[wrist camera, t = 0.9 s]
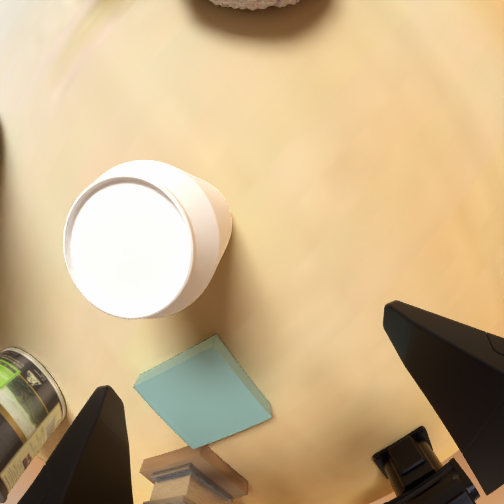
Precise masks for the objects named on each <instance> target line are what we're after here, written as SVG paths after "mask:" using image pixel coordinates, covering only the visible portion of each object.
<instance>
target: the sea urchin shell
mask: <svg viewBox="0 0 504 504" xmlns="http://www.w3.org/2000/svg"><path fill="white" fill-rule="evenodd" d="M210 1H212V3H213V4H214V5H221V6H222V7H225V6H226V7H232V8H234V9H237V8H240V9H245V8H247V9H250V10H252V11H253V10H255V9H257V8H259V9H266V8H267V7H268V6H273V5H274V6H277V7H279V8H281V7H282V6H284V7H285V6H286V5H287V4H292V5H295V4H296V3H297V2H299V1H300V0H210Z"/></svg>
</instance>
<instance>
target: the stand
mask: <svg viewBox="0 0 504 504" xmlns="http://www.w3.org/2000/svg"><path fill="white" fill-rule="evenodd" d="M133 387H134V389H135V390H136V391H137V392H138V393H139V394H140V396H141V397H142V398H143V399H144V400H145V401H146V402H147V403H148V404H149V406H150V407H151V408H152V409H153V410H154V411H155V412H156V413H157V414H158V415H159V416H160V417H161V418H162V419H163V420H164V421H165V422H166V424H167V425H168V426H169V427H170V428H171V429H172V430H173V431H174V432H175V433H176V434H177V435H179V436H180V437H181V438H182V439H183V440H184V441H185V442H186V443H187V444H188V445H189V446H190V447H191V448H192V449H195V448H198V447H201V446H204V445H206V444H209V443H212V442H215V441H217V440H220V439H223V438H225V437H228V436H230V435H233V434H235V433H238V432H240V431H243V430H245V429H247V428H250V427H252V426H254V425H257V424H259V423H261V422H263V421H266V420H268V419H270V418H272V416H271V407H270V403H269V401H268V400H267V399H266V398H265V396H264V395H263V394H262V393H261V391H260V390H259V389H258V388H257V386H256V385H255V384H254V383H253V381H252V380H251V379H250V378H249V376H248V375H247V374H246V373H245V371H244V370H243V369H242V367H241V366H240V365H239V363H238V362H237V361H236V360H235V358H234V357H233V356H232V354H231V353H230V352H229V350H228V349H227V348H226V346H225V345H224V344H223V342H222V341H221V340H220V338H219V337H218V335H217V334H215V335H214V336H212V337H210V338H208V339H206V340H205V341H203V342H201V343H199V344H197V345H196V346H194V347H192V348H190V349H188V350H186V351H184V352H183V353H181V354H179V355H177V356H175V357H173V358H171V359H169V360H167V361H166V362H164V363H162V364H160V365H158V366H156V367H154V368H152V369H150V370H148V371H146V372H144V373H142V374H140V376H139V378H138V379H137V381H136V383H135V384H134V386H133Z"/></svg>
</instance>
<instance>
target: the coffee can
mask: <svg viewBox="0 0 504 504" xmlns="http://www.w3.org/2000/svg"><path fill="white" fill-rule="evenodd" d="M65 414H66V406H65V402H64V398H63V396H62V394H61V391H60V389H59V388H58V386H57V384H56V382H55V381H54V379H53V378H52V376H51V375H50V374H49V373H48V371H47V370H46V369H45V368H44V367H43V366H42V365H41V364H40V363H39V362H38V361H37V360H36V359H35V358H34V357H32V356H31V355H30V354H28V353H26V352H25V351H23V350H21V349H18V348H12V347H9V348H6V349H4V350H3V351H2V352H1V353H0V503H4V502H5V501H6V499H7V495H8V493H9V492H10V491H11V489H12V488H13V486H14V485H15V484H16V482H17V481H18V479H19V478H20V477H21V475H22V474H23V472H24V471H25V469H26V468H27V467H28V465H29V464H30V462H31V461H32V460H33V458H34V457H35V456H36V454H37V453H38V452H39V450H40V449H41V448H42V446H43V445H44V443H45V442H46V441H47V439H48V438H49V437H50V436H51V434H52V433H53V432H54V430H55V429H56V428H57V426H58V425H59V424H60V423H61V422H62V421H63V420H64V418H65Z"/></svg>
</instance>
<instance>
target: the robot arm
mask: <svg viewBox="0 0 504 504" xmlns="http://www.w3.org/2000/svg"><path fill="white" fill-rule="evenodd" d="M383 327H384V330H385V331H386V333H387V335H388V337H389V339H390V340H391V342H392V344H393V346H394V348H395V349H396V351H397V353H398V355H399V357H400V359H401V360H402V362H403V364H404V365H405V367H406V369H407V370H408V371H409V373H410V374H411V376H412V377H413V379H414V380H415V382H416V383H417V385H418V386H419V387H420V389H421V390H422V392H423V393H424V395H425V396H426V398H427V399H428V401H429V402H430V404H431V405H432V407H433V408H434V410H435V411H436V413H437V414H438V416H439V418H440V419H441V421H442V422H443V424H444V425H445V427H446V428H447V430H448V432H449V433H450V435H451V436H452V438H453V440H454V441H455V443H456V444H457V446H458V448H459V449H460V451H461V452H462V453H463V456H464V458H465V459H466V461H467V463H468V464H469V466H470V468H471V470H472V471H473V473H474V474H475V476H476V478H477V480H478V481H479V483H480V485H481V487H482V489H483V490H484V492H485V494H486V495H489V494H490V493H491V492H493V491H495V490H496V489H497V488H499V487H500V486H502V485H503V484H504V338H502V337H499V336H496V335H493V334H490V333H488V332H487V333H486V332H485V331H482V330H479V329H476V328H473V327H471V326H468V325H465V324H462V323H459V322H457V321H454V320H451V319H448V318H445V317H443V316H440V315H437V314H434V313H431V312H429V311H426V310H423V309H420V308H417V307H414V306H412V305H409V304H406V303H403V302H400V301H397V300H395V301H392V302H390V303H388V304H386V305H385V307H384V317H383ZM373 459H374V461H375V462H376V464H377V465H378V467H379V468H380V470H381V471H382V473H383V474H384V475H385V477H386V478H387V479H389V480H390V483H391V485H392V487H393V489H394V491H395V493H396V496H397V497H396V498H394V499H392V500H391V501H389V502H386V503H384V504H476V503H475V500H477V498H479V497H480V495H479V493H478V491H477V489H476V488H475V486H474V485H473V483H472V482H471V480H470V479H469V478H468V476H467V475H466V473H465V472H464V471H463V469H462V468H461V467H460V466H459V464H458V463H457V462H456V460H455V459H454V458H452V459H451V460H449V462H448V463H447V464H445V465H444V466H442V464H441V462H440V461H439V459H438V458H437V456H436V455H435V453H434V452H433V448H432V446H431V443H430V440H429V437H428V434H427V431H426V429H425V427H424V426H421V427H419V428H418V429H416V430H414V431H413V432H411V433H410V434H408V435H407V436H405V437H404V438H402V439H400V440H399V441H397V442H396V443H394V444H392V445H390V446H389V447H387V448H385V449H384V450H382V451H380V452H378V453H377V454H375V455H374V456H373ZM17 504H133V495H132V484H131V470H130V453H129V442H128V435H127V428H126V420H125V412H124V405H123V402H122V400H121V399H120V398H119V396H118V395H117V394H116V393H115V391H114V390H113V389H112V387H110V386H109V385H106V386H100V387H98V388H97V389H96V390H95V391H94V393H93V394H92V395H91V397H90V398H89V400H88V401H87V403H86V404H85V405H84V407H83V408H82V410H81V411H80V413H79V414H78V416H77V417H76V418H75V420H74V421H73V423H72V424H71V426H70V427H69V429H68V430H67V432H66V433H65V435H64V436H63V438H62V439H61V441H60V442H59V444H58V445H57V447H56V448H55V450H54V451H53V453H52V454H51V456H50V457H49V459H48V460H47V462H46V465H44V466H43V468H42V470H41V471H40V473H39V475H38V476H37V477H36V479H35V480H34V482H33V483H32V485H31V486H30V487H29V489H28V490H27V491H26V493H25V494H24V496H23V497H22V498H21V499H20V501H19V502H18V503H17Z"/></svg>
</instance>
